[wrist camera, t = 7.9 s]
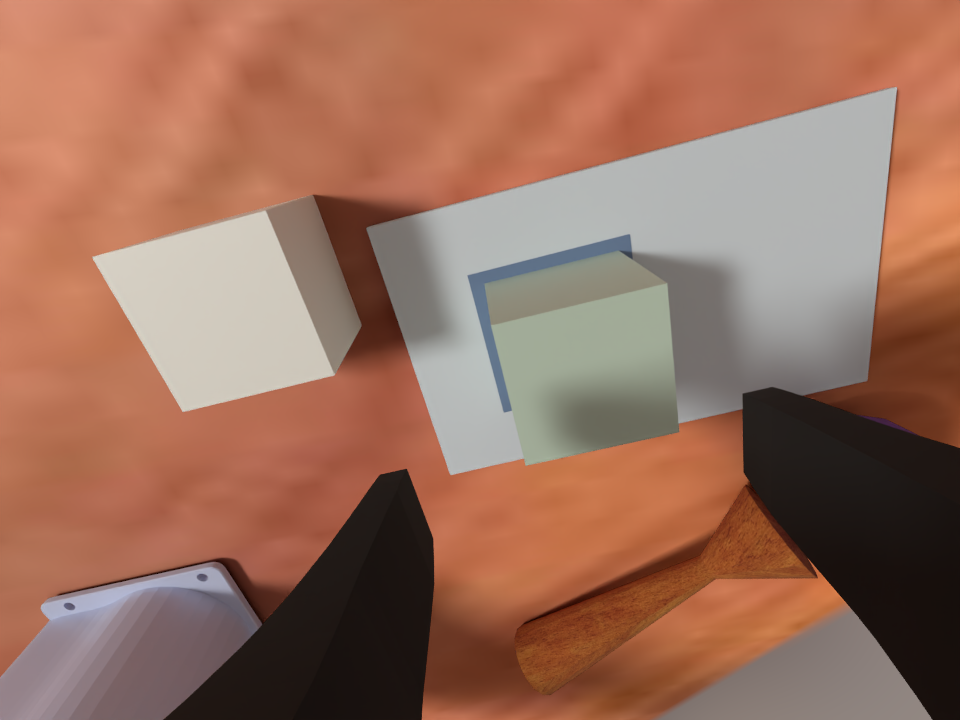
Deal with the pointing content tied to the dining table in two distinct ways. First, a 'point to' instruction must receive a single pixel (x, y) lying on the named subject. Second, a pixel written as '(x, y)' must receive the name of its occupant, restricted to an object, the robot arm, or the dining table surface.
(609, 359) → the block base
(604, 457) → the dining table surface
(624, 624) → the kendama
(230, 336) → the block top
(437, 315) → the grey base plate
